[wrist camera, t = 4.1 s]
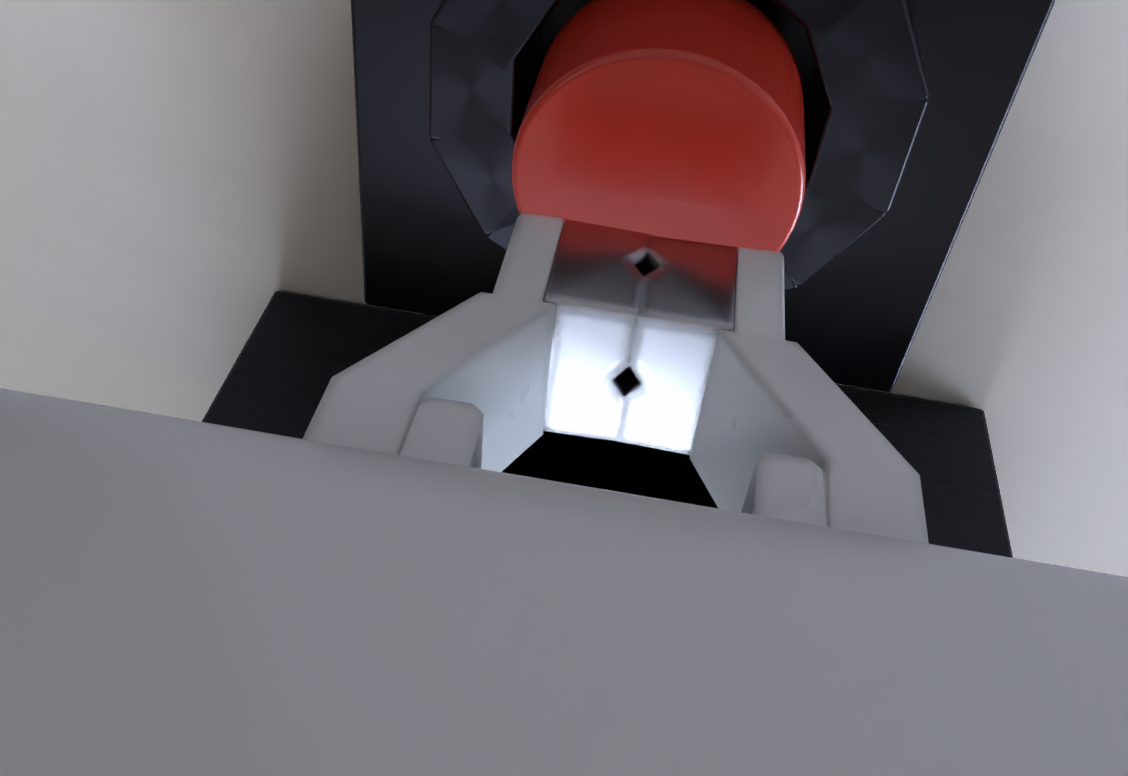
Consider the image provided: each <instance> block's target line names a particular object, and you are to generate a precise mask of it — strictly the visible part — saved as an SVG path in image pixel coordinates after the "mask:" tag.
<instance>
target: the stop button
mask: <svg viewBox="0 0 1128 776" xmlns="http://www.w3.org/2000/svg"><path fill="white" fill-rule="evenodd" d="M511 181H512V188H513V194H514V198H515V202H516V205H517V208H518V212H519V214H521V213H522V212H523V213H530V214H537V215H543V216H550V217H557V218H562V219H563V220H564V221H565V220H566V219H568V220H573V221H579V222H585V223H590V224H596V225H602V226H607V227H613V228H619V229H624V230H630V231H636V232H641V233H647V234H651V236H659V237H666V238H674V239H681V240H688V241H696V242H703V243H711V244H718V245H725V246H733V247H746V248H754V249H763V250H771V251H780V250H781V249H782V247H783V246H784V245H785V243H786V242H787V241H788V239H789V237H790V235H791V233H792V232H793V230H794V228H795V226H796V224H797V221H798V218H799V216H800V213H801V210H802V205H803V201H804V196H805V184H806V163H805V130H804V98H803V87H802V80H801V76H800V72H799V68H798V65H797V62H796V60H795V57H794V55H793V53H792V50H791V48H790V47H789V45H788V43H787V42H786V40H785V38H784V37H783V35H782V34H781V33H780V31H779V30H778V29H777V28H776V26H775V25H774V24H773V23H772V21H771V20H769V19H768V18H767V17H766V16H765V15H764V14H763V13H762V12H761V11H760V10H759V9H758V8H756V7H755V6H753V5H752V4H750V3H749V2H748V1H746V0H592V1H590V2H589V3H587V4H586V5H584V6H583V7H582V8H581V9H580V10H579V11H577V12H576V13H575V14H574V15H573V16H572V17H571V18H570V19H569V20H568V21H567V22H566V23H565V25H564V26H563V27H562V28H561V29H560V31H559V32H558V34H557V35H556V37H555V38H554V40H553V41H552V43H551V45H550V47H549V49H548V51H547V53H546V56H545V58H544V60H543V63H542V66H541V69H540V72H539V74H538V77H537V80H536V83H535V86H534V88H533V91H532V94H531V97H530V100H529V102H528V105H527V108H526V111H525V114H524V116H523V119H522V122H521V125H520V128H519V130H518V134H517V137H516V140H515V144H514V147H513V154H512V161H511Z"/></svg>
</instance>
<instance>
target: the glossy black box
mask: <svg viewBox="0 0 1128 776" xmlns="http://www.w3.org/2000/svg"><path fill="white" fill-rule="evenodd" d="M434 318H436V317H430V316H424V315H418V314H412V313H406V312H400V311H394V310H388V309H382V308H376V307H370V306H364V305H358V304H352V303H346V302H341V301H335V300H329V299H323V298H317V297H311V296H305V295H299V294H293V293H287V292H281V291H276V292H275V293H274V294H273V296H272V298H271V300H270V302H269V303H268V305H267V307H266V309H265V310H264V312H263V314H262V316H261V318H260V319H259V321H258V323H257V325H256V326H255V328H254V330H253V332H252V333H251V335H250V337H249V339H248V341H247V342H246V344H245V346H244V348H243V349H242V351H241V353H240V355H239V357H238V358H237V360H236V362H235V364H234V365H233V367H232V369H231V371H230V372H229V374H228V376H227V378H226V380H225V381H224V383H223V385H222V387H221V388H220V390H219V392H218V394H217V396H216V397H215V399H214V401H213V403H212V404H211V406H210V408H209V410H208V411H207V413H206V415H205V417H204V419H203V420H202V422H205V423H211V424H217V425H223V426H229V427H235V428H241V429H247V430H253V431H259V432H265V433H270V434H276V435H282V436H288V437H294V438H300V439H303V437H304V435H305V432H306V430H307V428H308V426H309V424H310V422H311V420H312V418H313V416H314V413H315V411H316V409H317V407H318V405H319V403H320V401H321V399H322V396H323V394H324V392H325V390H326V388H327V386H328V384H329V382H330V380H331V377H333V376H335V375H336V374H338V373H340V372H342V371H343V370H345V369H347V368H349V367H350V366H352V365H354V364H356V363H357V362H359V361H361V360H363V359H364V358H366V357H368V356H370V355H371V354H373V353H375V352H377V351H378V350H380V349H382V348H384V347H385V346H387V345H389V344H391V343H392V342H394V341H396V340H398V339H399V338H401V337H403V336H405V335H406V334H408V333H410V332H412V331H413V330H415V329H417V328H419V327H420V326H422V325H424V324H426V323H427V322H429V321H431V320H433V319H434ZM837 386H838V387H839V388H840V389H841V390H842V391H843V392H844V394H845V395H846V396H847V397H848V398H849V399H850V400H851V401H852V402H853V403H854V404H855V405H856V407H857V408H858V409H859V410H860V411H861V412H862V413H863V414H864V415H865V416H866V417H867V418H868V420H869V421H870V422H871V423H872V424H873V425H874V426H875V427H876V428H877V429H878V430H879V431H880V433H881V434H882V435H883V436H884V437H885V438H886V439H887V440H888V441H889V442H890V443H891V445H892V446H893V447H894V448H895V449H896V450H897V451H898V452H899V453H900V454H901V455H902V456H903V458H904V459H905V460H906V461H907V462H908V463H909V464H910V465H911V466H912V467H913V468H914V469H915V471H916V472H917V473H918V474H919V475H920V481H921V489H922V496H923V504H924V511H925V519H926V526H927V534H928V541H929V544H933V545H939V546H945V547H951V548H957V549H963V550H969V551H975V552H981V553H987V554H993V555H999V556H1005V557H1011V558H1013V556H1012V551H1011V546H1010V541H1009V536H1008V531H1007V526H1006V521H1005V516H1004V511H1003V506H1002V500H1001V495H1000V490H999V485H998V480H997V475H996V470H995V465H994V460H993V455H992V450H991V445H990V440H989V435H988V430H987V425H986V419H985V414H984V411H983V410H981V409H976V408H970V407H964V406H959V405H953V404H947V403H941V402H935V401H929V400H923V399H917V398H911V397H905V396H899V395H893V394H887V393H881V392H875V391H869V390H863V389H858V388H852V387H846V386H840V385H837ZM617 438H618V436H617ZM502 472H503V473H509V474H515V475H521V476H527V477H533V478H539V479H545V480H551V481H557V482H563V483H569V484H575V485H581V486H586V487H592V488H598V489H604V490H610V491H616V492H622V493H628V494H634V495H640V496H646V497H652V498H658V499H664V500H670V501H676V502H682V503H688V504H694V505H700V506H706V507H712V508H718V507H717V505H716V503H715V502H714V500H713V498H712V496H711V495H710V493H709V491H708V489H707V488H706V486H705V484H704V482H703V481H702V479H701V477H700V476H699V474H698V472H697V470H696V469H695V467H694V465H693V463H692V462H691V460H690V455H687V454H682V453H677V452H671V451H666V450H661V449H656V448H650V447H645V446H640V445H635V444H630V443H624V442H619V441H613V440H606V439H599V438H592V437H584V436H577V435H570V434H563V433H555V432H548V431H543V435H542V436H541V437H540V438H539V439H537V440H536V441H535V442H534V443H533V444H532V445H531V446H530V447H529V448H527V449H526V450H525V451H524V452H523V453H522V454H521V455H520V456H519V457H517V458H516V459H515V460H514V461H513V462H512V463H511V464H510V465H508V466H507V467H506V468H505V469H504V470H503V471H502Z"/></svg>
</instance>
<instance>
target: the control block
mask: <svg viewBox="0 0 1128 776" xmlns="http://www.w3.org/2000/svg"><path fill="white" fill-rule="evenodd" d="M590 1H592V0H351V13H352V35H353V57H354V78H355V100H356V122H357V144H358V166H359V188H360V210H361V232H362V253H363V275H364V297H365V302H366V303H367V304H369V305H375V306H381V307H387V308H393V309H399V310H405V311H411V312H417V313H423V314H429V315H435V316H440V315H441V314H443V313H445V312H447V311H448V310H450V309H452V308H454V307H455V306H457V305H459V304H461V303H462V302H464V301H466V300H468V299H469V298H471V297H473V296H475V295H476V294H478V293H480V292H484V293H490V294H493V291H494V288H495V285H496V281H497V278H498V275H499V272H500V269H501V266H502V263H503V260H504V257H505V254H506V251H507V248H508V245H509V242H510V239H511V236H512V232H513V229H514V226H515V223H516V220H517V218H518V217H519V215H520V214H519V212H518V208H517V205H516V202H515V198H514V194H513V188H512V181H511V161H512V154H513V147H514V144H515V140H516V137H517V134H518V130H519V128H520V125H521V122H522V119H523V116H524V114H525V111H526V108H527V105H528V102H529V100H530V97H531V94H532V91H533V88H534V86H535V83H536V80H537V77H538V74H539V72H540V69H541V66H542V63H543V60H544V58H545V56H546V53H547V51H548V49H549V47H550V45H551V43H552V41H553V40H554V38H555V37H556V35H557V34H558V32H559V31H560V29H561V28H562V27H563V26H564V25H565V23H566V22H567V21H568V20H569V19H570V18H571V17H572V16H573V15H574V14H575V13H576V12H577V11H579V10H580V9H581V8H582V7H583V6H584V5H586V4H587V3H589V2H590ZM746 1H748V2H749V3H750V4H752V5H753V6H755V7H756V8H758V9H759V10H760V11H761V12H762V13H763V14H764V15H765V16H766V17H767V18H768V19H769V20H771V21H772V23H773V24H774V25H775V26H776V28H777V29H778V30H779V31H780V33H781V34H782V35H783V37H784V38H785V40H786V42H787V43H788V45H789V47H790V48H791V50H792V53H793V55H794V57H795V60H796V62H797V65H798V68H799V72H800V76H801V80H802V87H803V98H804V130H805V163H806V184H805V196H804V201H803V205H802V210H801V213H800V216H799V218H798V221H797V224H796V226H795V228H794V230H793V232H792V233H791V235H790V237H789V239H788V241H787V242H786V243H785V245H784V246H783V247H782V249H781V250H780V251H779V252H781V253H782V254H783V256H784V298H785V340H786V341H792V342H797V343H798V344H799V345H800V346H801V347H802V348H803V349H804V350H805V351H806V352H807V353H808V355H809V356H810V357H811V358H812V359H813V360H814V361H815V362H816V363H817V364H818V365H819V366H820V368H821V369H822V370H823V371H824V372H825V373H826V374H827V375H828V376H829V377H830V378H831V379H832V381H833V382H834V383H839V384H845V385H851V386H857V387H863V388H869V389H874V390H880V391H886V392H890V391H892V389H893V387H894V385H895V383H896V380H897V378H898V375H899V373H900V371H901V368H902V366H903V363H904V361H905V359H906V356H907V354H908V351H909V349H910V347H911V344H912V342H913V340H914V337H915V335H916V332H917V330H918V328H919V325H920V323H921V320H922V318H923V316H924V313H925V311H926V308H927V306H928V304H929V301H930V299H931V297H932V294H933V292H934V289H935V287H936V285H937V282H938V280H939V277H940V275H941V273H942V270H943V268H944V265H945V263H946V261H947V258H948V256H949V253H950V251H951V249H952V246H953V244H954V242H955V239H956V237H957V234H958V232H959V230H960V227H961V225H962V222H963V220H964V218H965V215H966V213H967V210H968V208H969V206H970V203H971V201H972V198H973V196H974V194H975V191H976V189H977V187H978V184H979V182H980V179H981V177H982V175H983V172H984V170H985V167H986V165H987V163H988V160H989V158H990V155H991V153H992V151H993V148H994V146H995V143H996V141H997V139H998V136H999V134H1000V132H1001V129H1002V127H1003V124H1004V122H1005V120H1006V117H1007V115H1008V112H1009V110H1010V108H1011V105H1012V103H1013V100H1014V98H1015V96H1016V93H1017V91H1018V88H1019V86H1020V84H1021V81H1022V79H1023V77H1024V74H1025V72H1026V69H1027V67H1028V65H1029V62H1030V60H1031V57H1032V55H1033V53H1034V50H1035V48H1036V45H1037V43H1038V41H1039V38H1040V36H1041V34H1042V31H1043V29H1044V26H1045V24H1046V22H1047V19H1048V17H1049V14H1050V12H1051V10H1052V7H1053V5H1054V2H1055V0H746Z"/></svg>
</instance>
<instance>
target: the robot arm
mask: <svg viewBox="0 0 1128 776" xmlns="http://www.w3.org/2000/svg"><path fill="white" fill-rule="evenodd" d="M543 431H548V432H555V433H563V434H570V435H577V436H584V437H592V438H599V439H606V440H613V441H619V442H624V443H630V444H635V445H640V446H645V447H650V448H656V449H661V450H666V451H671V452H677V453H682V454H687V455H690V460H691V462H692V463H693V465H694V467H695V469H696V470H697V472H698V474H699V476H700V477H701V479H702V481H703V482H704V484H705V486H706V488H707V489H708V491H709V493H710V495H711V496H712V498H713V500H714V502H715V503H716V505H717V507H718V508H712V507H706V506H700V505H694V504H688V503H682V502H676V501H670V500H664V499H658V498H652V497H646V496H640V495H634V494H628V493H622V492H616V491H610V490H604V489H598V488H592V487H586V486H581V485H575V484H569V483H563V482H557V481H551V480H545V479H539V478H533V477H527V476H521V475H515V474H509V473H503V472H502V471H503V470H504V469H505V468H506V467H507V466H508V465H510V464H511V463H512V462H513V461H514V460H515V459H516V458H517V457H519V456H520V455H521V454H522V453H523V452H524V451H525V450H526V449H527V448H529V447H530V446H531V445H532V444H533V443H534V442H535V441H536V440H537V439H539V438H540V437H541V436H542V435H543ZM617 436H618V438H617ZM0 776H1128V577H1124V576H1118V575H1112V574H1106V573H1100V572H1094V571H1088V570H1082V569H1076V568H1070V567H1064V566H1058V565H1052V564H1046V563H1040V562H1034V561H1028V560H1022V559H1017V558H1011V557H1005V556H999V555H993V554H987V553H981V552H975V551H969V550H963V549H957V548H951V547H945V546H939V545H933V544H929V541H928V534H927V526H926V519H925V511H924V504H923V496H922V489H921V481H920V475H919V474H918V473H917V472H916V471H915V469H914V468H913V467H912V466H911V465H910V464H909V463H908V462H907V461H906V460H905V459H904V458H903V456H902V455H901V454H900V453H899V452H898V451H897V450H896V449H895V448H894V447H893V446H892V445H891V443H890V442H889V441H888V440H887V439H886V438H885V437H884V436H883V435H882V434H881V433H880V431H879V430H878V429H877V428H876V427H875V426H874V425H873V424H872V423H871V422H870V421H869V420H868V418H867V417H866V416H865V415H864V414H863V413H862V412H861V411H860V410H859V409H858V408H857V407H856V405H855V404H854V403H853V402H852V401H851V400H850V399H849V398H848V397H847V396H846V395H845V394H844V392H843V391H842V390H841V389H840V388H839V387H838V386H837V385H836V384H835V383H834V382H833V381H832V379H831V378H830V377H829V376H828V375H827V374H826V373H825V372H824V371H823V370H822V369H821V368H820V366H819V365H818V364H817V363H816V362H815V361H814V360H813V359H812V358H811V357H810V356H809V355H808V353H807V352H806V351H805V350H804V349H803V348H802V347H801V346H800V345H799V344H798V343H797V342H792V341H786V340H785V298H784V256H783V254H782V253H781V252H779V251H771V250H763V249H754V248H746V247H733V246H725V245H718V244H711V243H703V242H696V241H688V240H681V239H674V238H666V237H659V236H651V234H647V233H641V232H636V231H630V230H624V229H619V228H613V227H607V226H602V225H596V224H590V223H585V222H579V221H573V220H568V219H566V220H565V221H564V220H563V219H562V218H557V217H550V216H543V215H537V214H530V213H523V212H522V213H521V214H520V215H519V217H518V218H517V220H516V223H515V226H514V229H513V232H512V236H511V239H510V242H509V245H508V248H507V251H506V254H505V257H504V260H503V263H502V266H501V269H500V272H499V275H498V278H497V281H496V285H495V288H494V291H493V294H490V293H484V292H480V293H478V294H476V295H475V296H473V297H471V298H469V299H468V300H466V301H464V302H462V303H461V304H459V305H457V306H455V307H454V308H452V309H450V310H448V311H447V312H445V313H443V314H441V315H440V316H438V317H436V318H434V319H433V320H431V321H429V322H427V323H426V324H424V325H422V326H420V327H419V328H417V329H415V330H413V331H412V332H410V333H408V334H406V335H405V336H403V337H401V338H399V339H398V340H396V341H394V342H392V343H391V344H389V345H387V346H385V347H384V348H382V349H380V350H378V351H377V352H375V353H373V354H371V355H370V356H368V357H366V358H364V359H363V360H361V361H359V362H357V363H356V364H354V365H352V366H350V367H349V368H347V369H345V370H343V371H342V372H340V373H338V374H336V375H335V376H333V377H331V380H330V382H329V384H328V386H327V388H326V390H325V392H324V394H323V396H322V399H321V401H320V403H319V405H318V407H317V409H316V411H315V413H314V416H313V418H312V420H311V422H310V424H309V426H308V428H307V430H306V432H305V435H304V437H303V439H300V438H294V437H288V436H282V435H276V434H270V433H265V432H259V431H253V430H247V429H241V428H235V427H229V426H223V425H217V424H211V423H205V422H199V421H193V420H187V419H181V418H175V417H169V416H163V415H157V414H151V413H145V412H139V411H133V410H127V409H121V408H115V407H110V406H104V405H98V404H92V403H86V402H80V401H74V400H68V399H62V398H56V397H50V396H44V395H38V394H32V393H26V392H20V391H14V390H8V389H2V388H0Z"/></svg>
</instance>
